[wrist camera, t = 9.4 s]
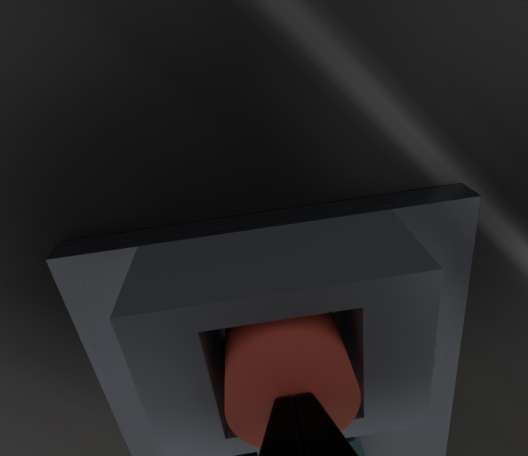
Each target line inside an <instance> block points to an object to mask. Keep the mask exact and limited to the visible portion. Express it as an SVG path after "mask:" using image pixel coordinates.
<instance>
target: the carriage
mask: <svg viewBox="0 0 528 456" xmlns="http://www.w3.org/2000/svg"><path fill="white" fill-rule="evenodd" d="M348 442H349V443H350V444H351V446H352V447H353V449H354V450H355V451H356V453H357V454H358V455H359V456H365V453H364V450H363V447H362V444H361V441H360V440H355V441H348Z"/></svg>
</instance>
